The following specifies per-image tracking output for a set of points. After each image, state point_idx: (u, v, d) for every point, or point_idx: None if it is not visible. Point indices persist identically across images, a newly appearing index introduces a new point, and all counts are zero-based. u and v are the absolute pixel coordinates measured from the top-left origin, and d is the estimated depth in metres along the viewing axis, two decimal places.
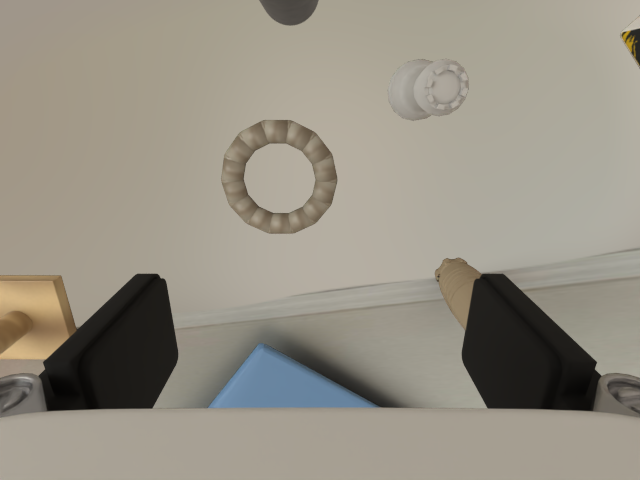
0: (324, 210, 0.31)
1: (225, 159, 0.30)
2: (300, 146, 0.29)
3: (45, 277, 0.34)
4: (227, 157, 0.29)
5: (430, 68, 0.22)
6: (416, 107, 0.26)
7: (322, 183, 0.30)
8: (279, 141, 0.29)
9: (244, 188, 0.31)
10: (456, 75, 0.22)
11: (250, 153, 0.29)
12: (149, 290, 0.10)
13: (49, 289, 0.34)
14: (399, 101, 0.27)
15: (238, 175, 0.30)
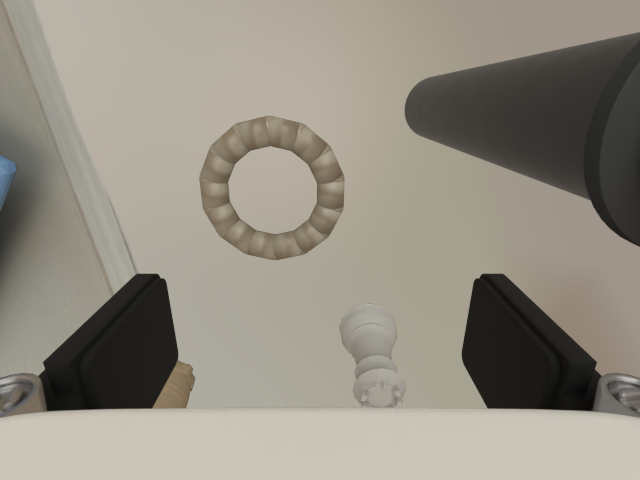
0: (237, 248, 0.25)
1: (297, 127, 0.22)
2: (314, 221, 0.25)
3: None
4: (299, 130, 0.22)
5: (398, 381, 0.22)
6: (356, 345, 0.26)
7: (271, 247, 0.25)
8: (320, 197, 0.24)
9: None
10: (391, 403, 0.22)
11: (305, 160, 0.23)
12: (149, 290, 0.10)
13: None
14: (360, 322, 0.27)
15: (276, 143, 0.23)
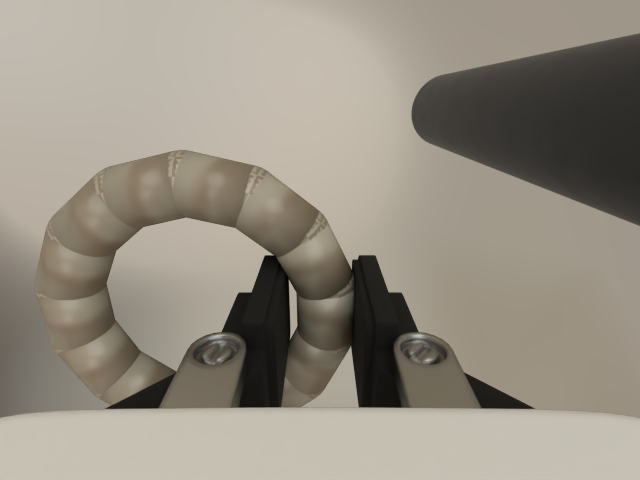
0: None
1: (244, 178, 0.09)
2: (290, 367, 0.12)
3: None
4: (251, 187, 0.09)
5: None
6: None
7: None
8: (302, 324, 0.11)
9: (161, 222, 0.10)
10: None
11: (267, 249, 0.10)
12: None
13: None
14: None
15: (198, 214, 0.10)
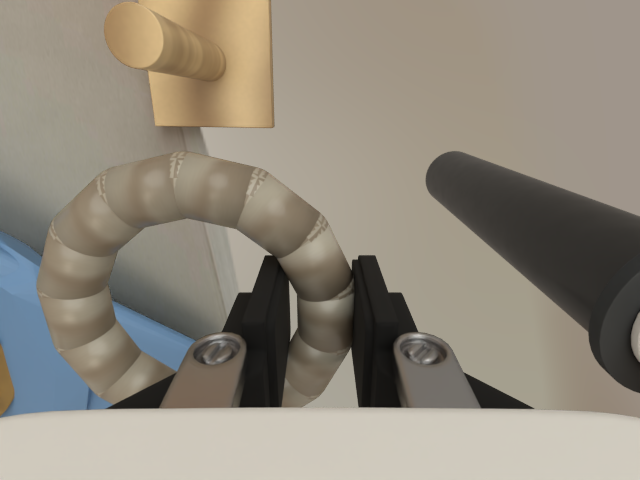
0: None
1: (245, 180, 0.09)
2: (291, 368, 0.12)
3: (273, 111, 0.28)
4: (252, 189, 0.09)
5: None
6: None
7: None
8: (302, 325, 0.11)
9: None
10: None
11: (268, 251, 0.10)
12: None
13: (260, 120, 0.28)
14: None
15: (199, 215, 0.10)
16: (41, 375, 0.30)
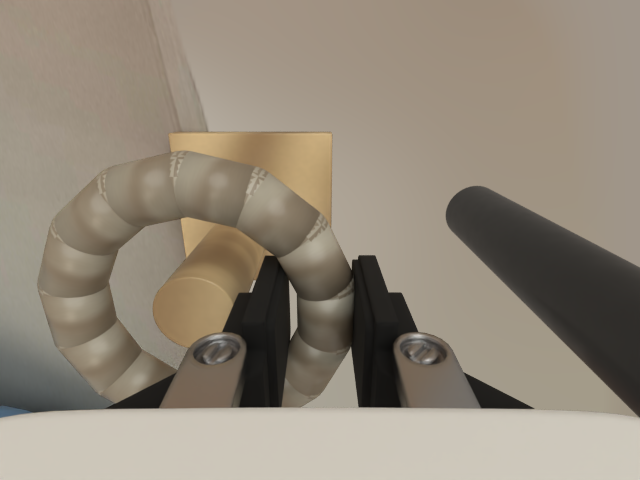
0: None
1: (245, 179, 0.09)
2: (290, 367, 0.12)
3: None
4: (252, 188, 0.09)
5: None
6: None
7: None
8: (302, 325, 0.11)
9: None
10: None
11: (267, 250, 0.10)
12: None
13: None
14: None
15: (199, 214, 0.10)
16: None
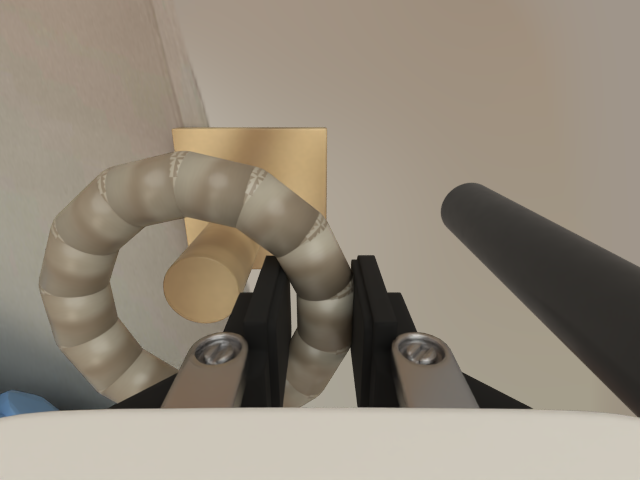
0: None
1: (244, 179, 0.09)
2: (290, 367, 0.12)
3: None
4: (251, 188, 0.09)
5: None
6: None
7: None
8: (302, 324, 0.11)
9: None
10: None
11: (267, 250, 0.10)
12: None
13: None
14: None
15: (199, 214, 0.10)
16: None
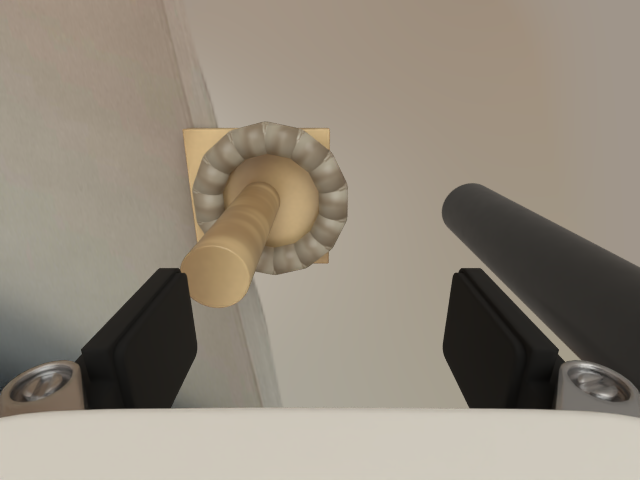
0: None
1: (295, 133, 0.21)
2: (316, 232, 0.23)
3: None
4: (299, 137, 0.21)
5: None
6: None
7: (271, 261, 0.23)
8: (322, 207, 0.22)
9: (255, 156, 0.22)
10: None
11: (305, 168, 0.22)
12: (173, 283, 0.10)
13: None
14: None
15: (274, 150, 0.21)
16: None
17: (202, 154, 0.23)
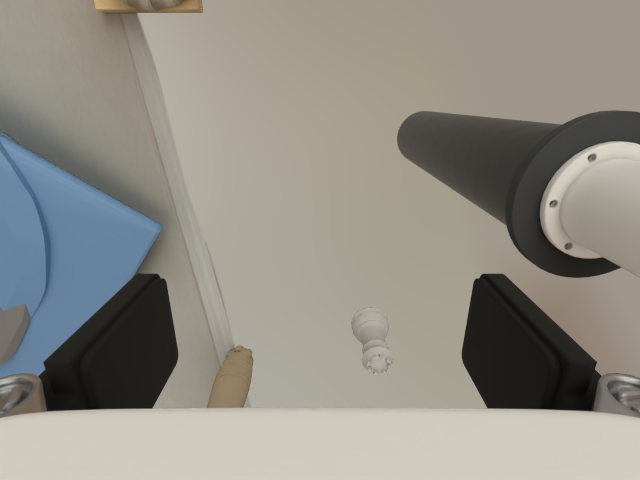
0: None
1: None
2: None
3: None
4: None
5: (389, 354, 0.37)
6: (362, 334, 0.41)
7: None
8: None
9: None
10: (384, 368, 0.37)
11: None
12: (149, 290, 0.10)
13: (187, 2, 0.31)
14: (365, 319, 0.42)
15: None
16: (1, 239, 0.34)
17: None
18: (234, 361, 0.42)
